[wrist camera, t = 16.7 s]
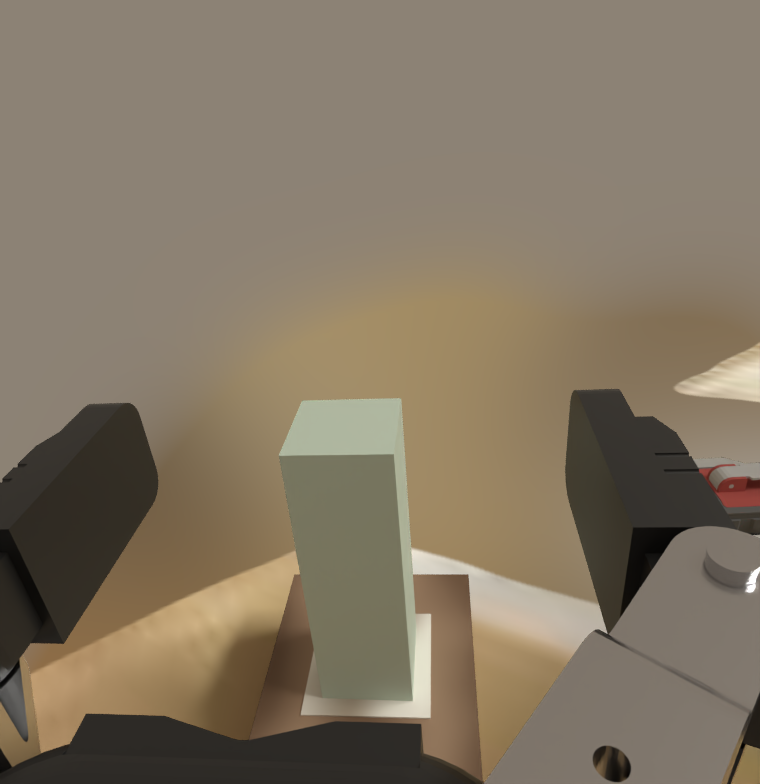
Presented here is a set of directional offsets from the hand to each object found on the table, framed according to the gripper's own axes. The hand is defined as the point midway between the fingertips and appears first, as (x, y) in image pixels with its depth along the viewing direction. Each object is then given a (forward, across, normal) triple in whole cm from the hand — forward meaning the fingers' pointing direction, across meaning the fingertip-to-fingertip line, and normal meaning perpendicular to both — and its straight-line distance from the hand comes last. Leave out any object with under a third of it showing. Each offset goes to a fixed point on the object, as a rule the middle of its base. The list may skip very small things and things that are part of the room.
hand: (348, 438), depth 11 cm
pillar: (+14, +3, +25) cm, 29 cm away
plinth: (+14, +3, +30) cm, 33 cm away
